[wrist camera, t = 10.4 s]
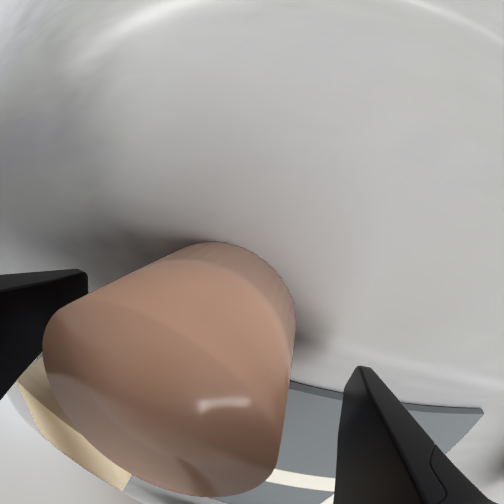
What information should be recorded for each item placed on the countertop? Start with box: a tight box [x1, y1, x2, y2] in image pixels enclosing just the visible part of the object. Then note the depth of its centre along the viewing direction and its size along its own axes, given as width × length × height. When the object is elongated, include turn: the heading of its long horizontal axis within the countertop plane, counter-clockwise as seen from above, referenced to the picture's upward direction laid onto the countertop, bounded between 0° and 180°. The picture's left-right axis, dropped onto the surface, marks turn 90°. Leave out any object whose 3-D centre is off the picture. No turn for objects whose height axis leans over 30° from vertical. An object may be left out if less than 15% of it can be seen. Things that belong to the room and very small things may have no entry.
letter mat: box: [208, 381, 484, 504], centre depth 11 cm, size 14×14×1 cm
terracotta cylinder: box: [42, 242, 296, 497], centre depth 6 cm, size 5×5×5 cm
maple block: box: [16, 356, 132, 491], centre depth 11 cm, size 6×6×4 cm
